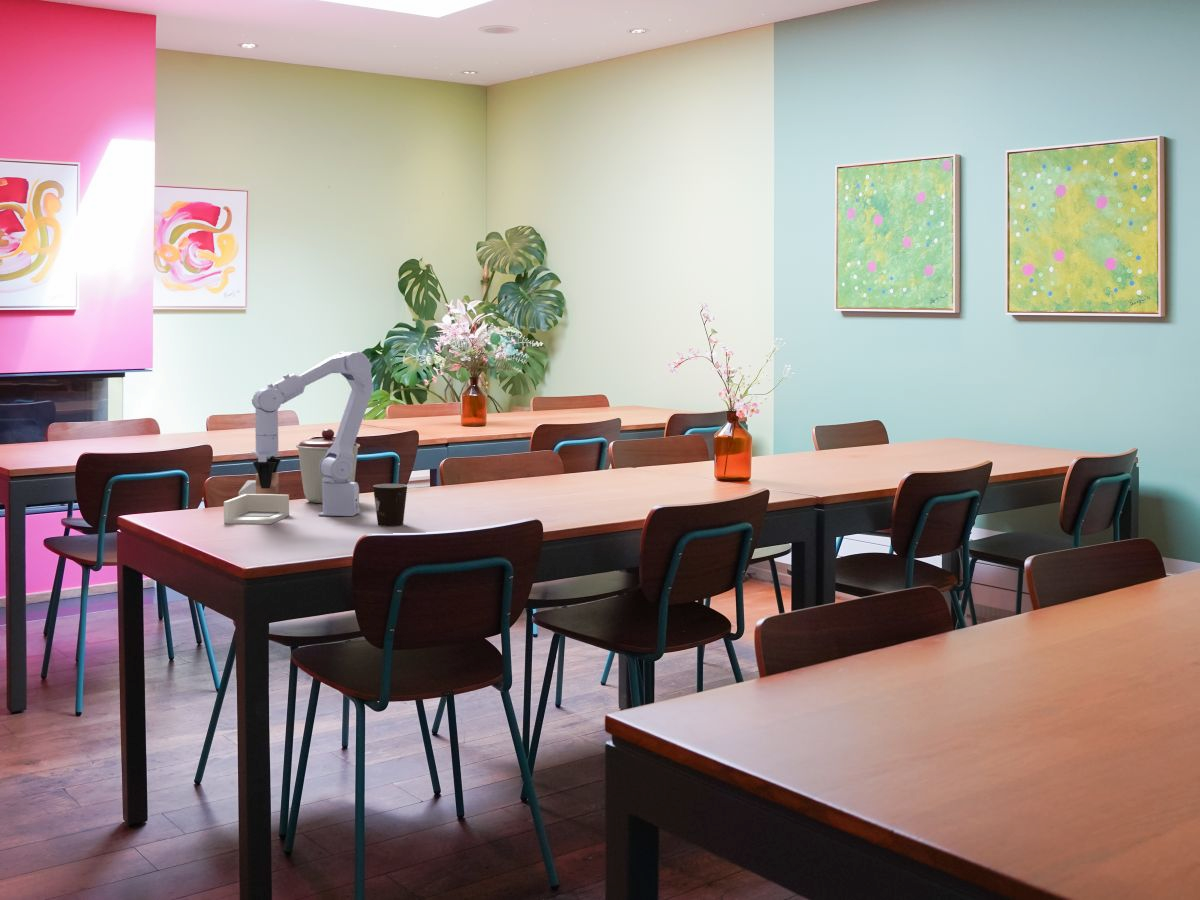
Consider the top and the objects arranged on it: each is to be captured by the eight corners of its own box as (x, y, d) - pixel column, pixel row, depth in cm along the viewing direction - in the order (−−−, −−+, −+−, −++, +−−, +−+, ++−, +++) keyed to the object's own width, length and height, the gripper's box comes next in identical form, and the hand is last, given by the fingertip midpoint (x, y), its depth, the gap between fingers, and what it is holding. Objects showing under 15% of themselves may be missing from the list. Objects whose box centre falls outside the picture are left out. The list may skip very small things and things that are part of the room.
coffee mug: (375, 522, 325) (374, 483, 324) (408, 521, 326) (408, 483, 325) (370, 529, 313) (370, 489, 312) (405, 528, 314) (405, 489, 313)
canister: (370, 503, 361) (370, 430, 359) (310, 507, 351) (309, 432, 349) (345, 496, 376) (345, 425, 374) (287, 500, 366) (286, 427, 364)
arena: (289, 515, 336) (288, 494, 335) (270, 524, 320) (269, 502, 319) (245, 514, 336) (244, 493, 336) (224, 523, 320) (223, 501, 320)
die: (254, 515, 339) (276, 485, 341) (227, 498, 340) (249, 468, 343) (262, 522, 347) (283, 492, 350) (235, 505, 348) (257, 475, 351)
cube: (278, 491, 330) (278, 472, 330) (275, 493, 325) (275, 474, 325) (259, 491, 330) (259, 472, 329) (255, 493, 325) (255, 474, 324)
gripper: (256, 432, 333) (256, 483, 334) (245, 437, 318) (246, 490, 320) (283, 433, 333) (283, 483, 335) (274, 437, 319) (274, 490, 320)
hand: (267, 487), depth 327 cm, fingers closed on cube, 5 cm apart
